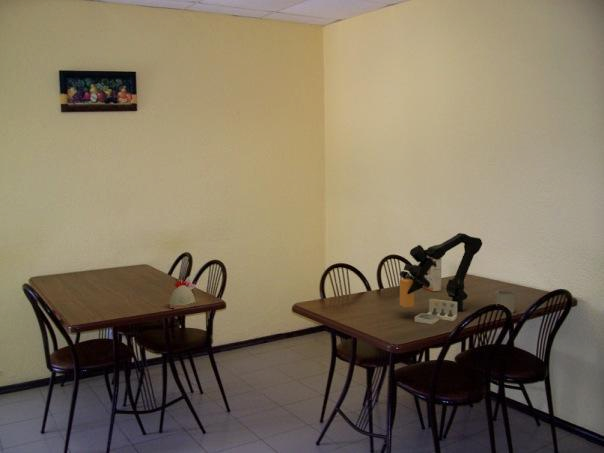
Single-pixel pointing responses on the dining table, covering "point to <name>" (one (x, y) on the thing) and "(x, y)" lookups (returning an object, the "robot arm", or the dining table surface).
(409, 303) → the cap
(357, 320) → the dining table surface
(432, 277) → the cracker box
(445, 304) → the breaker bank
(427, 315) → the frame
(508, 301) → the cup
